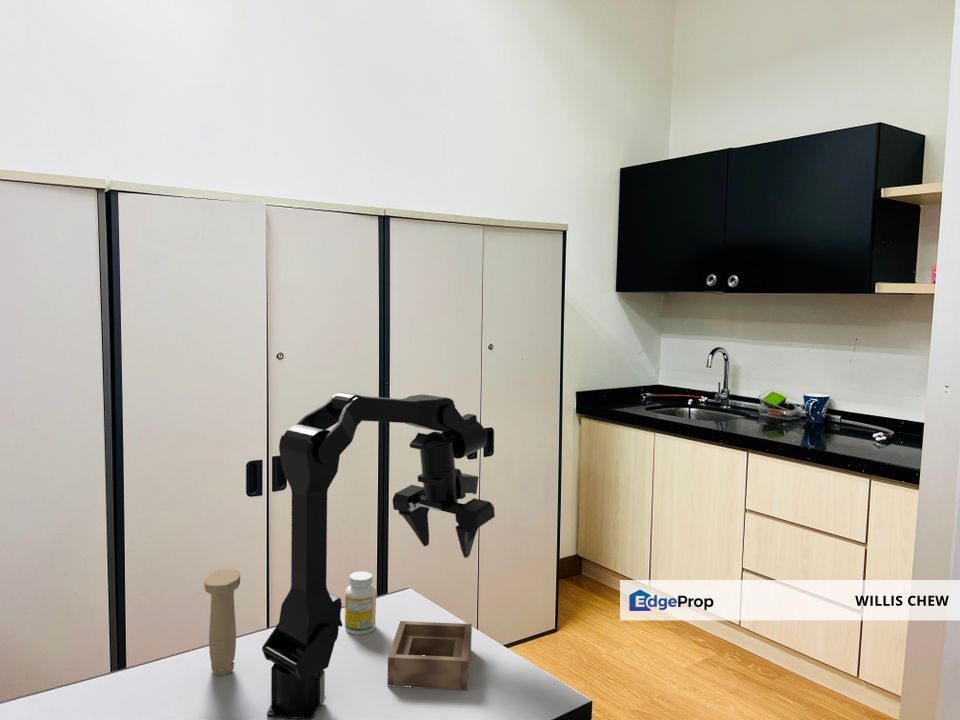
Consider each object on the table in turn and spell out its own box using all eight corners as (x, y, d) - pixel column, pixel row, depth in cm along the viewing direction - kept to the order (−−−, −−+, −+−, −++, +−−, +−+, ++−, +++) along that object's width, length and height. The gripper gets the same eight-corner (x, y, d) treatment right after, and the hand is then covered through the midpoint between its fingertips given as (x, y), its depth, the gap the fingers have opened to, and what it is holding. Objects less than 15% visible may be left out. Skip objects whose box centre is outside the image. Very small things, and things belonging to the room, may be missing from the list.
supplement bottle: (365, 638, 117) (366, 583, 117) (338, 632, 119) (339, 578, 119) (380, 624, 122) (381, 572, 122) (354, 619, 124) (355, 568, 124)
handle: (244, 660, 109) (244, 569, 108) (232, 682, 102) (232, 585, 101) (213, 660, 109) (213, 569, 107) (199, 682, 102) (198, 585, 101)
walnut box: (387, 686, 103) (387, 657, 102) (399, 646, 115) (400, 620, 114) (466, 689, 102) (467, 661, 102) (471, 650, 114) (471, 624, 114)
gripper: (509, 459, 118) (515, 543, 121) (427, 445, 129) (434, 522, 132) (471, 482, 109) (478, 571, 112) (386, 464, 120) (395, 546, 123)
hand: (446, 551), depth 120 cm, fingers open, 9 cm apart
